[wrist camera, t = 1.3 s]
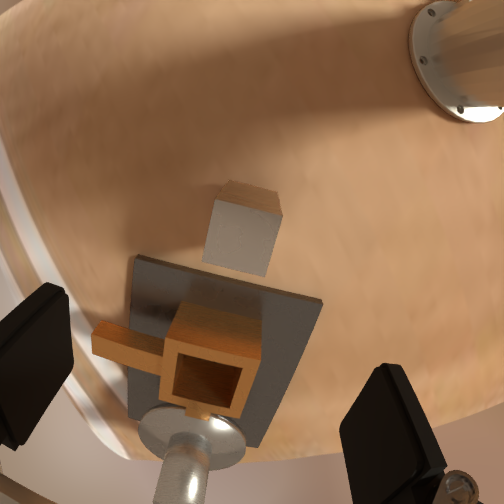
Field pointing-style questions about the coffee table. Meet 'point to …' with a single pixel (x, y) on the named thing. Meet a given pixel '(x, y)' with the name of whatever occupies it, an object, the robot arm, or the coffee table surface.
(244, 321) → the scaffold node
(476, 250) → the coffee table surface
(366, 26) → the coffee table surface
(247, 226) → the grey block
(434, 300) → the coffee table surface
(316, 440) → the coffee table surface
